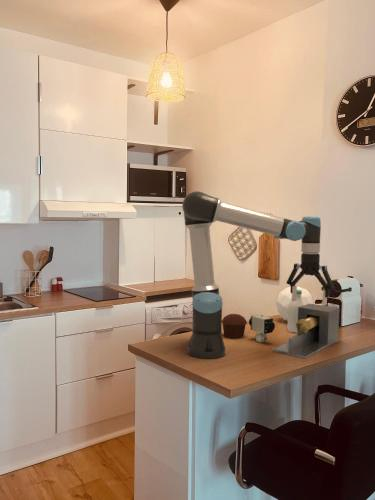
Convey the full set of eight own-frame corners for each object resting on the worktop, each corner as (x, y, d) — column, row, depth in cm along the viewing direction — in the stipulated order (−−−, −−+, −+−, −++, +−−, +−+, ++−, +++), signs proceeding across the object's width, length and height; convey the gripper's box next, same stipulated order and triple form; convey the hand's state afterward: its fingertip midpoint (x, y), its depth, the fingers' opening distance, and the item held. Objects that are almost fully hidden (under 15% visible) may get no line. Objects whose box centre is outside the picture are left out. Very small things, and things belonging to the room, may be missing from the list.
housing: (273, 351, 180) (274, 315, 179) (308, 335, 206) (309, 303, 205) (305, 358, 171) (306, 320, 170) (338, 340, 198) (339, 307, 196)
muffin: (218, 337, 200) (218, 315, 199) (224, 331, 210) (224, 311, 209) (244, 340, 196) (244, 318, 195) (249, 334, 206) (249, 313, 206)
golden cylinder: (296, 331, 186) (296, 318, 186) (311, 325, 198) (311, 312, 198) (309, 334, 183) (309, 320, 182) (323, 327, 194) (324, 314, 194)
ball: (298, 337, 228) (297, 311, 216) (269, 317, 242) (267, 291, 229) (322, 316, 235) (322, 290, 223) (293, 298, 249) (292, 272, 236)
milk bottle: (303, 333, 209) (304, 291, 207) (286, 332, 211) (287, 290, 210) (304, 330, 216) (305, 289, 215) (288, 328, 219) (289, 288, 217)
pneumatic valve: (267, 345, 188) (267, 317, 188) (248, 339, 198) (248, 312, 197) (276, 343, 192) (276, 316, 191) (257, 337, 201) (257, 311, 200)
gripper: (343, 254, 181) (341, 305, 183) (287, 251, 197) (286, 298, 198) (336, 255, 175) (334, 308, 177) (279, 251, 191) (278, 300, 193)
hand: (309, 303), depth 188 cm, fingers open, 13 cm apart
